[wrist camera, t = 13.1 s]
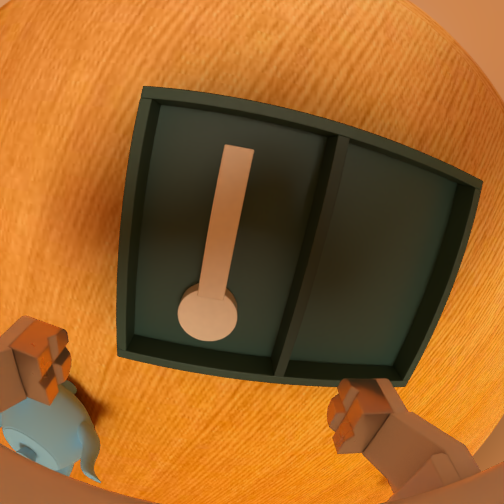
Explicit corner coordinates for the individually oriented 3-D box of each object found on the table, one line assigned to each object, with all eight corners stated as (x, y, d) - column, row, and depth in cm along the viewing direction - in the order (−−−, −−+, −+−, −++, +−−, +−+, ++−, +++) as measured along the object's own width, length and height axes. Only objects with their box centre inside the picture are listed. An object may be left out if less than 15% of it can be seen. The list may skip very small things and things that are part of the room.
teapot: (34, 333, 24) (-18, 394, 15) (132, 414, 28) (109, 488, 18) (6, 384, 26) (-30, 434, 17) (84, 447, 30) (63, 504, 20)
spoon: (207, 142, 20) (203, 140, 17) (271, 154, 20) (275, 154, 18) (177, 326, 24) (172, 343, 21) (231, 336, 24) (231, 353, 22)
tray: (155, 94, 19) (142, 85, 16) (460, 176, 22) (483, 181, 19) (127, 336, 25) (117, 356, 22) (393, 368, 27) (405, 387, 24)
